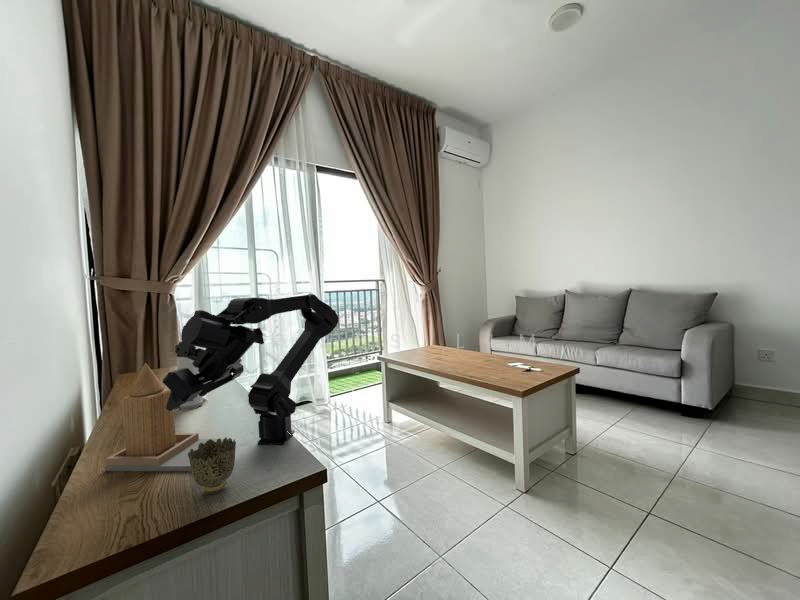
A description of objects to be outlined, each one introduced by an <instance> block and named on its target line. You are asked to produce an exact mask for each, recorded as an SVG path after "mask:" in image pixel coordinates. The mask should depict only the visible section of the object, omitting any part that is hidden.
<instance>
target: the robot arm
mask: <svg viewBox="0 0 800 600" xmlns="http://www.w3.org/2000/svg"><path fill="white" fill-rule="evenodd" d="M295 311H300V313H301V317H302V318H303V319H305V320H304V330H303V331H302V333H301V334H300V335H299V337H297V340H296V341H295V342H294V344H293V345H292V346H291V348H290V349H289V351H288V352H287V353H286V354H285V355H284V357H283V358H282V360H281V361H280V363H279V364H278V365H277V367H275V369H274V370H273V371H272V372H271V373H264V372H263V373H260V374H259V376H258V377H257V379H256V380H255V382H254V383H253V384H252V385H250V388H251V389H250V390H249V392H248V395H247V397H248V404H249V406H250V408H252V409H253V411H254V414H256V415H259V421H258V423H257V424H258V438H259V440H258V441H257V445H285V444H286V443H287V441H288V440H289V439H290V438H291V437H292V436H293V435H294V434H295V430H294V429H292V418H291V415H293V414H294V413H295V412H296V409H297V402H296V401H294V400H293V399H292V398H291V397H290V395H291V389H292V381H293V380H294V379H295V376H297V374H298V372H299V371H300V369H301V368H302V367H303V365H305V362H306V360H307V359H308V358H309V356H310V354H311V353H312V352H313V350H314V349H315V348H316V346H317V344H319V342H320V340H321V339H323V338H324V337H327V336H328V335H330V334H331V333H332V332H333V331H334V330H335V329H336V327H337V326H338V324H339V315H338V314H337V312H336V311H335V310H334V309H333V308H332V307H331V305H328V304H327V303H326V302H324V301H322V300H320V298H319V297H318V296H316V294H314V293H309V292H308V293H300V294H296V295H288V296H281V297H274V298H267V297H266V298H265V297H236V298H233V299H231V300H229V303H228V304H227V307H226V308H224V309H223V310H221V312H219V313H218V314H217V315H215V314H213V313H210V312H208V311H205V310H202V309H201V310H199V309H198V310H195V312H194V314H193V315H192V316H191V317H190V318H189V319H188V320H187V321H186V323H185V325H183V327H182V329H181V334H180V336H181V337H180V339H181V341H179V343H178V344H176V345H175V350H174V351H175V354H176V355H177V354H178V355H180V356H182V357H184V358H185V357H187V358H189V359H191V360H194V362H193V363H192V365H193V366H195V367H196V368H197V367H198V368H199V369H198V371H199V373H198V374H195V375H194V374H193V373H192V372H191V371H190V370H189V369H188V368H181V369H178V370H177V369H175V370H171V371H169V372H167V373H166V374H165V376H164V377H163V379H162V382H161V383H162V384H163V385H165V386H166V388H167V389H170V390H171V393H170V396H169V399H168V402H167V405H166V409H167V410H168V411H171V410H173V409H174V410H175V409H177V408H178V407H179V408H180V406H181V405H182V404H184V403H186V402H188V401H190V400H192V399H194V398H196V397H197V395H199V396H205V395H207V394H209V393H210V392H212V391H214V390H216V389H218V388H220V387H222V386H225V385H227V384H229V383H230V382H233V381H235V379H237V378H239V377H240V376H241V375H242V374H243V373H244V372H245V369H244V365H243V364H242V361H243V360H242V357H243V356H244V355H245V354H246V353H247V352H248V350H249V349H250V348H251V347H252V346H253V344H254V343H255V344H259V345H263V344H265V341H264V337H263V335H264V334H263V333H264V332H262V330H261V327H258V328H251V327H248V326H244V325H245V324H252V325H253V324H259V323H261V322H264V321H266V320H269V318H271V317H273V316H275V315H279V314H283V313H288V312H295ZM287 431H288V432H289V433H290V434H291V435H292V436H291V435H290V434H289V433H288V432H287Z"/></svg>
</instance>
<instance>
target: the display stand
mask: <svg viewBox="0 0 800 600" xmlns="http://www.w3.org/2000/svg"><path fill="white" fill-rule="evenodd" d="M175 435H176V443H175V445H173V446H171V447H170V448H168V449H167V450H165V451H163V452H162V453H160V454H159V455H157V456H153V457H127V456H126V447H124V448H123V449H121V450H119V451H117V452H116V453H114V454H112V455H109V456H108V457H106V458H105V461H106V462H105V463H106V464H105V465H104V471H105V472H192V470H191V466H190V461H189V456H188V453H189V452H190V449H193V450H194V451H195V450H198V445H199V443H203V444H205V443H206V442H207V441H208V440H209V439H210V440H213V441H214V442H217V439H218V438H199V437H200V436H199V432H180V433H178V432H177V433H176V432H175ZM220 439H221V441H223V440H224V439H225V438H220ZM227 439H228V440H229V438H227ZM231 440H232V441H233V438H231Z"/></svg>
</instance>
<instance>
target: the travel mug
mask: <svg viewBox="0 0 800 600" xmlns="http://www.w3.org/2000/svg"><path fill="white" fill-rule="evenodd" d="M193 362H194V360H191V359H189V358H187V357H185V358H184V357H182V356H180V355H178V354H176V367H177V368H176V370H178V369H181V368H188V369H189V370H190V371H191V372H192V373H193V374H194V375H195V374H198V373H199V371H198V369H199V368H198V367H197V368H196V367H195V366H193V365H192V363H193ZM203 396H204V395H203ZM203 396H199V395H197V397H196V398H194V399H192V400H190V401H188V402H186V403H184V404H182V405H181V406H179V409H180V410H182V409H189V410H193V409H192V408H194V409H197V408H200V407H202V406H203V405H204V397H203ZM201 405H202V406H201ZM199 406H200V407H199Z"/></svg>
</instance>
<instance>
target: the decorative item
mask: <svg viewBox="0 0 800 600" xmlns="http://www.w3.org/2000/svg"><path fill="white" fill-rule="evenodd" d="M170 393H171V390H170V389H169V388H165V386H164V383H163V382H161V380H160V379H159V377H157V376H156V374H155V373H154V371H153V370H152V369H151V368H150V366H149V365H148V363H146V362H145V363H144V364H143V366H142V368H141V371H140V372H139V374H138V377H137V378H136V380H135V382H134V384H133V385H132V388H131V390H130V392H129V395H127V396H124V397H123V398H122V400H121V402H122V403H121V404H122V416H123V428H124V429H123V430H124V442H125V443H124V445H125V448H126V456H127V457H153V456H157V455H159V454H160V453H162V452H163V451H165V450H167V449H168V448H170V447H171V446H173V445H175V443H176V435H175V433H176V423H175V422H176V421H175V409H173V410H171V411H168V410H167V409H166V405H167V402H168V399H169V396H170Z"/></svg>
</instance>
